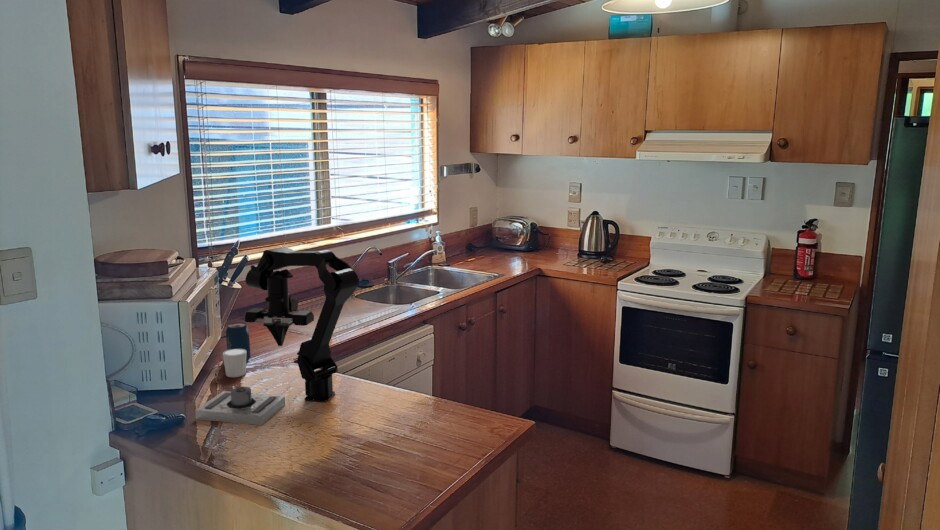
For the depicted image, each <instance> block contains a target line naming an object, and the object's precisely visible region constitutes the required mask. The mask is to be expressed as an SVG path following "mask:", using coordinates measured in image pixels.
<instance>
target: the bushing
mask: <svg viewBox="0 0 940 530" xmlns="http://www.w3.org/2000/svg"><path fill="white" fill-rule="evenodd" d="M230 392H231V406H232V408H237V409H241V408H245V407H250V406H252V400H251V393H252V389H251V388H250V387H248V386H238V387H235V388H233V389H231V390H230Z"/></svg>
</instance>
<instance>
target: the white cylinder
mask: <svg viewBox="0 0 940 530" xmlns="http://www.w3.org/2000/svg"><path fill="white" fill-rule="evenodd" d="M246 354H247V351H246V350H244V349H230V350H227V349H226V350H224V351H223V352H222V358H223V359H222V360H223V365H224V371H225V375H226V377H228V378H238V377H239V378H240V377H243V376H245V375H246V373H247V362H246Z"/></svg>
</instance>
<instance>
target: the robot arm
mask: <svg viewBox="0 0 940 530" xmlns="http://www.w3.org/2000/svg"><path fill="white" fill-rule="evenodd" d="M327 266H328V267H330V268H331V269H333V270H334V271H332V272H330V270H329V269H328V268H327ZM288 267H315V268H316V269H317V274H318V278H319V280H320V282H322V283H323V284H324V285H323V292H324V295H325V300H324V302H323V304H322V308H321V311H320V314H319V317H318V319H317V322H316V324H315V328H314V330H313V334H312V336H311V337H310V338H311V339H308V340H305V341H303V342H301V343H300V346H299V350H298V352H297V353H296V355H297V358H296V359H297V366H298V368H299V371H300V372H299V373H300V375H301V379H303V380H305V381H304V386H305V387H304V389H305V390H304V391H305V397H304V400H305V401H311V402H313V401H314V402H325V403H326V402H328V401H329V400H330V399H331V398H332V397H333V396H335V394H336V391H333V388H334V387H333V374H336V373H337V370H338V365H337V363H336V362H335V361H334V359H333V358H332V356H331V355H332V350H331V346H330V342H331V339H332V337H333V335H334V334H333V333H334V331H335V330H336V329H335V328H336V326H337V324H338V320H339V317H340V315H341V312H342V310H343V307H344V305H345V303H346V302H347V301H348V300H349V298H351V296H352V295H353V294H354V293H355V291H356V290H357V288H358V286H359V283H360V278H359V276H358V274H357V272H356V271H355V270H354V269H353V268H352V267H351V265H349V263H348V262H346V261H345V260H343V259H341V258H340V257H337V255H336V254H335V253H334V252H333V251H332V250H330V249H329V250H328V249H324V250H301V251H300V250H299V251H298V250H297V251H296V250H294V249H292V248H289V247H285V246H283V247H277V248H270V249H265V250H264V251H263V252H262V254H261V258H260V259H259V261H258V263H257V264H253V265H252V264H251V265H250V269H249V270H248V272H247V273H246V277H245V280H244V281H245V284H246V286H247V287H249V288H252V289H256V290H257V289H258V290H261V291H267V292H266V293H267V297H265V302H266V303H267V310H266V309H265V308H264V307H263V308H260V307H253V308H251V309H249V310H247V311H245V312H244V315H243V318H244V321H243V322H244V323H253V324H254V323H255V322H256V321H257V320H258V319H261V320H264V323H263V324H262V325H263V327H266V328H267V329H268V331H269V332H270V334H271V336H272V337H273V339H274V340H275V343H276V344H277V346H278V347H282V346H284V341H285V339H286V336H287V332H288V331H289V328H290V327H291V326H292V325H294V326H308V325H310V324H311V323H313V321H315V314H314V313H313V312H312V311H310V310H299V309H298V307H299V300H298V299H293V298H292V295H291V293H290V292H289V279H292V278H294V275H293V274H292V272H290V271H289V270H288ZM281 269H282V270H281ZM298 310H299V311H298ZM293 312H295V313H293Z"/></svg>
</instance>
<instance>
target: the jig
mask: <svg viewBox="0 0 940 530" xmlns="http://www.w3.org/2000/svg"><path fill="white" fill-rule="evenodd" d="M251 400H252V406H250V407H245V408H241V409H237V408H232V406H231V391H226V390H222V391H221V392H220V393H218V394H216V396H214V397H212V398H211V399H210V400H208V401H207V402H205V403H204V404H203V405H201V406H200V407H198V408H196V409H195V419H196V420H199V421H200V420H201V421H210V422H211V421H212V422H221V423H222V422H223V423H234V424H243V425H244V424H245V425H255V426H263V425H264V424H265V423H266V422H267V421H268V419H269V420H270V419H271V418H272V417H273V416H274V415H275V414H277V412H280V410H281V409H283V408H284V406H286V396H285V395H276V394H273V395H272V394H262V393H252V392H251Z"/></svg>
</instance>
